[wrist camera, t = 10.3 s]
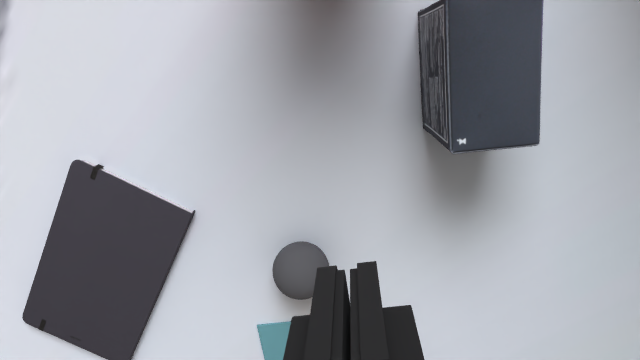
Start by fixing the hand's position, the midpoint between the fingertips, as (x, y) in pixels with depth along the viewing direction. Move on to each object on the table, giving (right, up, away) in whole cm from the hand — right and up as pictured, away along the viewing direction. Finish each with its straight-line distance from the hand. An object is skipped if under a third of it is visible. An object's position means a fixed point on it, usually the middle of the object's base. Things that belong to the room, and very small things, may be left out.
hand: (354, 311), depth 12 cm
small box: (+11, +14, +26) cm, 31 cm away
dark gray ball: (-3, -5, +29) cm, 30 cm away
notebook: (-24, -5, +35) cm, 42 cm away
